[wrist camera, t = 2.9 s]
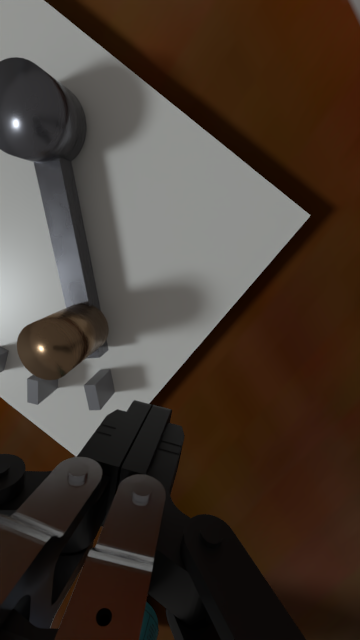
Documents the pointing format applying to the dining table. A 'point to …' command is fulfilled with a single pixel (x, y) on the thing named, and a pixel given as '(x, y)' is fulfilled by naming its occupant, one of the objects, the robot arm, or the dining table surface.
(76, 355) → the lever
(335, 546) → the dining table surface
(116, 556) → the robot arm
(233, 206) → the dial board
